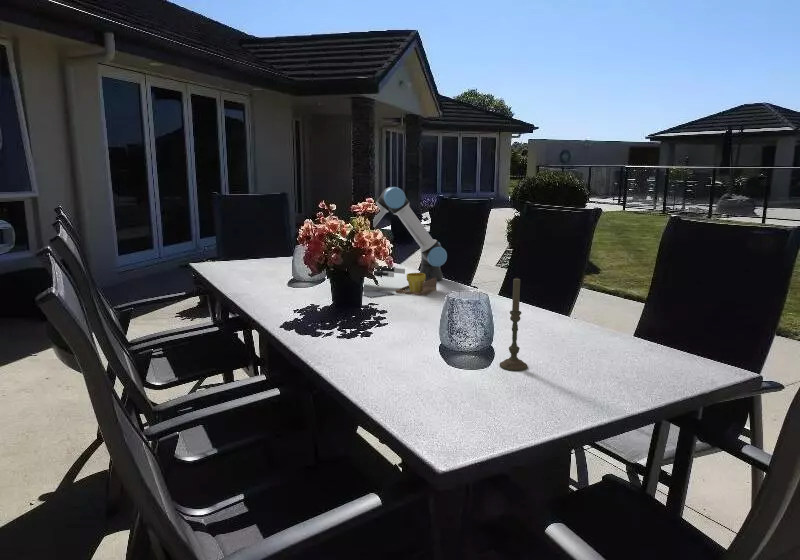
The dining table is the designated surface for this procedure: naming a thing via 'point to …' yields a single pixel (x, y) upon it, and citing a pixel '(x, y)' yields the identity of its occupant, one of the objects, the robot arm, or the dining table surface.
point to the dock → (426, 288)
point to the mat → (377, 293)
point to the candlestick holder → (514, 333)
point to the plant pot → (415, 281)
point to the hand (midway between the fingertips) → (399, 273)
